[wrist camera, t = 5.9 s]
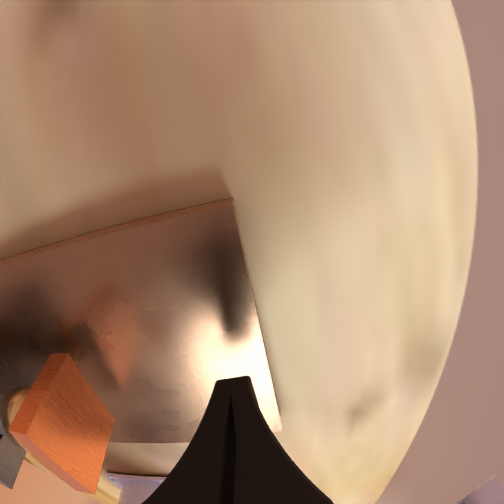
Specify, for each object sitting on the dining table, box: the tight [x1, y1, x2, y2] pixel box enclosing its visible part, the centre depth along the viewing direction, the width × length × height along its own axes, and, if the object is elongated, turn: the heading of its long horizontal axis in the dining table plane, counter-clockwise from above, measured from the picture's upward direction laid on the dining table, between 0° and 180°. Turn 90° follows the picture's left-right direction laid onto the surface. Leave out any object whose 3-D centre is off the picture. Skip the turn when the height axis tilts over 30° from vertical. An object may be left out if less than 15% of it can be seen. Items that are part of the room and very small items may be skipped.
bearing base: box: [0, 198, 283, 489], centre depth 10 cm, size 28×14×9 cm, turn 100°
